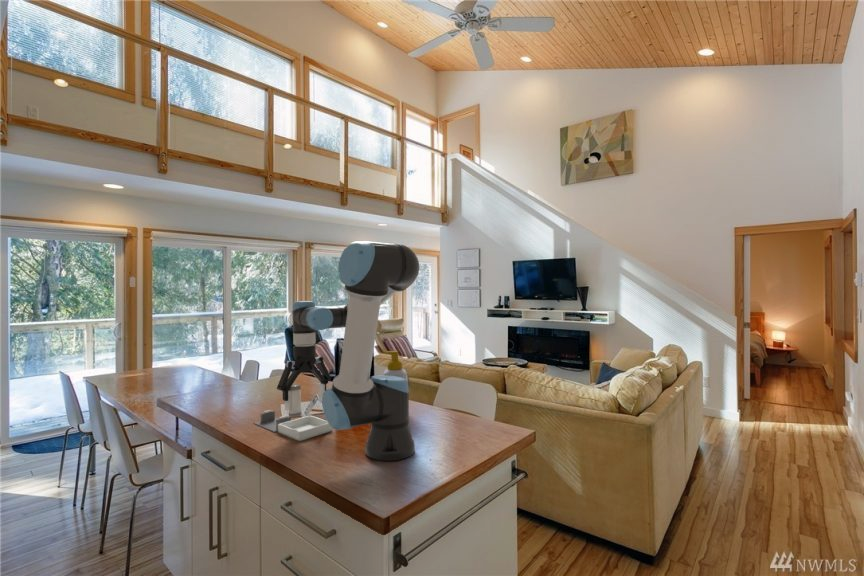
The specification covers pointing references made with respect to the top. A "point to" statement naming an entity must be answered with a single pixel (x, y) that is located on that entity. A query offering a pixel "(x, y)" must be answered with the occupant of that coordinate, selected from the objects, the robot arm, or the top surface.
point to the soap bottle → (395, 366)
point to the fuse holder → (271, 420)
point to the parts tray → (304, 428)
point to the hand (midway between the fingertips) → (305, 405)
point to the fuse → (295, 401)
